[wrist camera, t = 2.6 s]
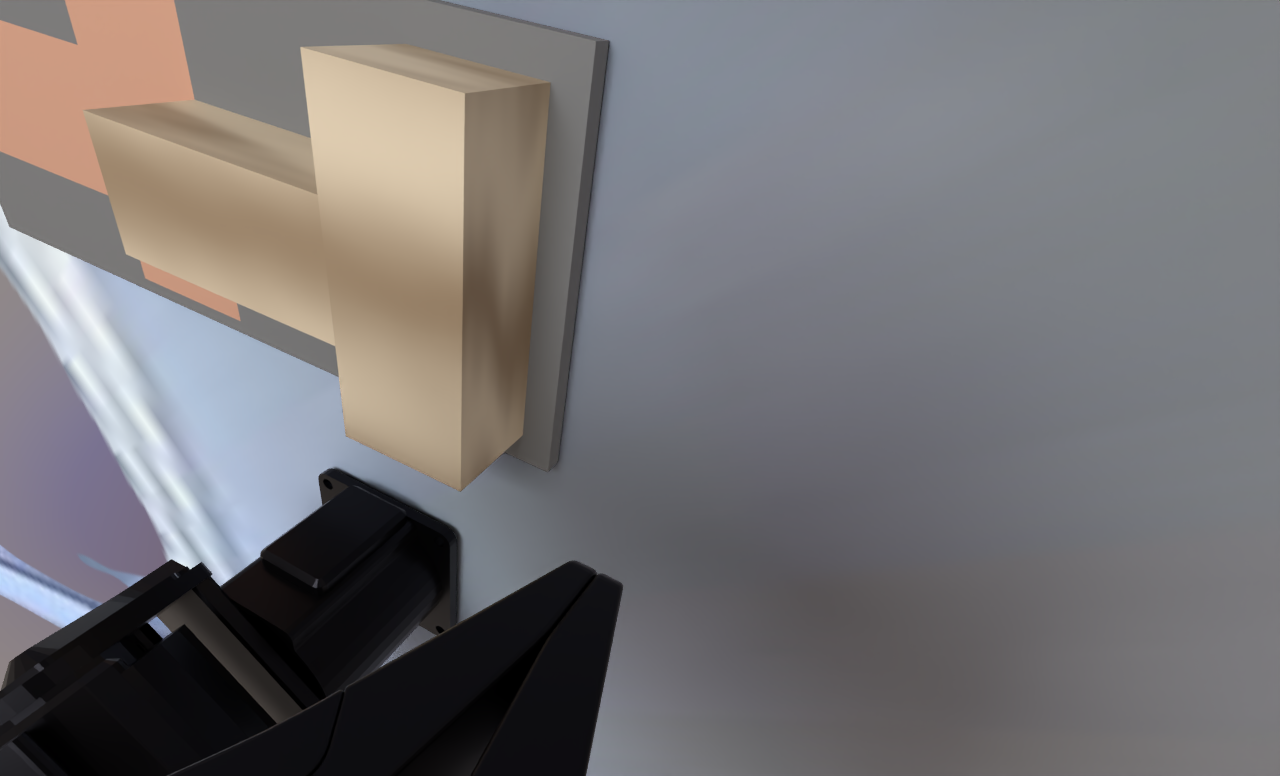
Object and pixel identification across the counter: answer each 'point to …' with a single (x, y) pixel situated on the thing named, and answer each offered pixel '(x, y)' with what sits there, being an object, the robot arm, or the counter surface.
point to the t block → (363, 234)
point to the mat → (275, 94)
